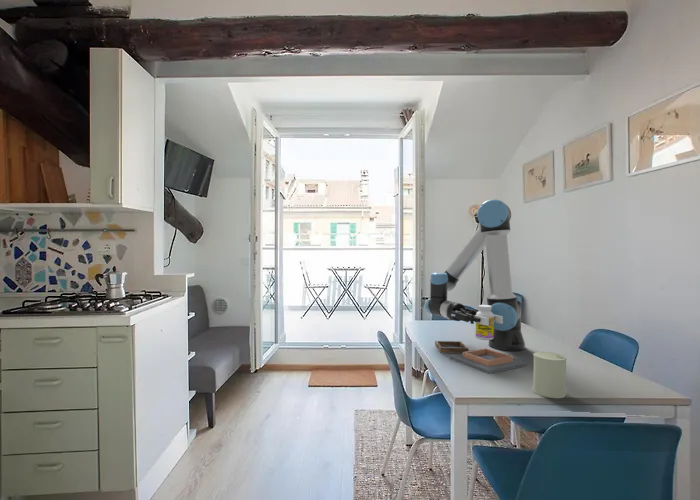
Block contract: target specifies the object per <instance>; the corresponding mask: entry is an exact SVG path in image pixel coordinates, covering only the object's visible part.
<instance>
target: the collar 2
mask: <svg viewBox="0 0 700 500" xmlns="http://www.w3.org/2000/svg"><path fill="white" fill-rule="evenodd" d="M462 354H463V357H464V358H467V359H469V360H472V361H475V362H478V363H480V364H483V365H486V366H493V365H498V364H503V363H508V362H513V359H514V357H513V355H510V354H507V353H502V352H499V351H496V350H494V349H490V348H488V347H487V348H485V347H484V348H479V349H473V350H468V351H466V352H463V353H462ZM483 354H488V355H491V356H494V357H497V358H496V359H491V360H487V359H484V358H481V357H478V356H477V355H483Z"/></svg>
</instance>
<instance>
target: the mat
mask: <svg viewBox="0 0 700 500" xmlns="http://www.w3.org/2000/svg"><path fill="white" fill-rule="evenodd" d="M477 356H478V357H481V358H484V359H487V360H491V359H496V358H497V357H494V356H491V355H488V354H483V355H477ZM449 359H450V360H453V361H455V362H458V363H460V364H463V365H467V366H469V367H472V368H474V369H477V370H480V371H482V372H484V373H487V374H494V373H498V372H502V371H508V370H512V369H515V368H516V369H517V368H520V367H521V368H522V367H526V366H527V362H525V361H521V360H519V359H516V358H513V362H508V363H503V364H498V365H493V366H486V365H483V364H480V363H478V362H475V361H472V360H469V359H467V358H464V357H463V353H457V354H453V355H449Z"/></svg>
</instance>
